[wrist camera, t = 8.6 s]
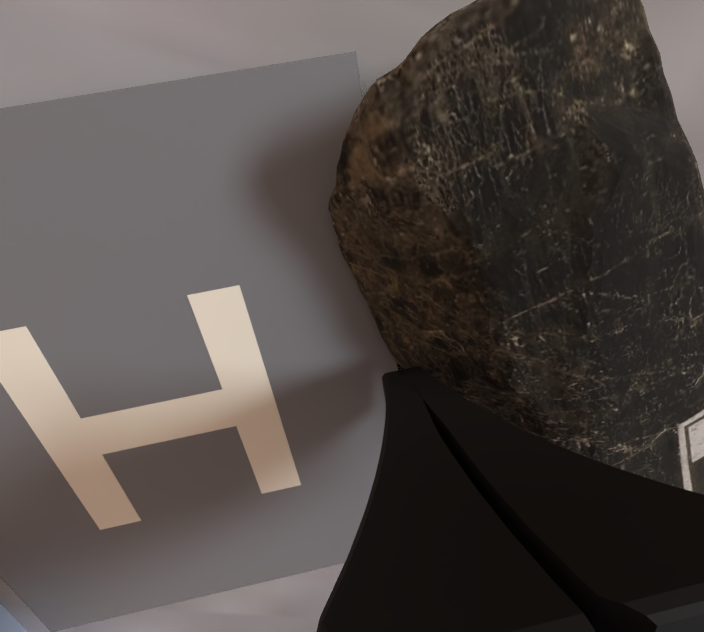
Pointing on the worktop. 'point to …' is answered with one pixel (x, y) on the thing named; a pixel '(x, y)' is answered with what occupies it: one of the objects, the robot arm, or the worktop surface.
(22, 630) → the gray cube
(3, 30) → the worktop surface
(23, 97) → the worktop surface
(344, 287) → the letter board
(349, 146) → the rock
